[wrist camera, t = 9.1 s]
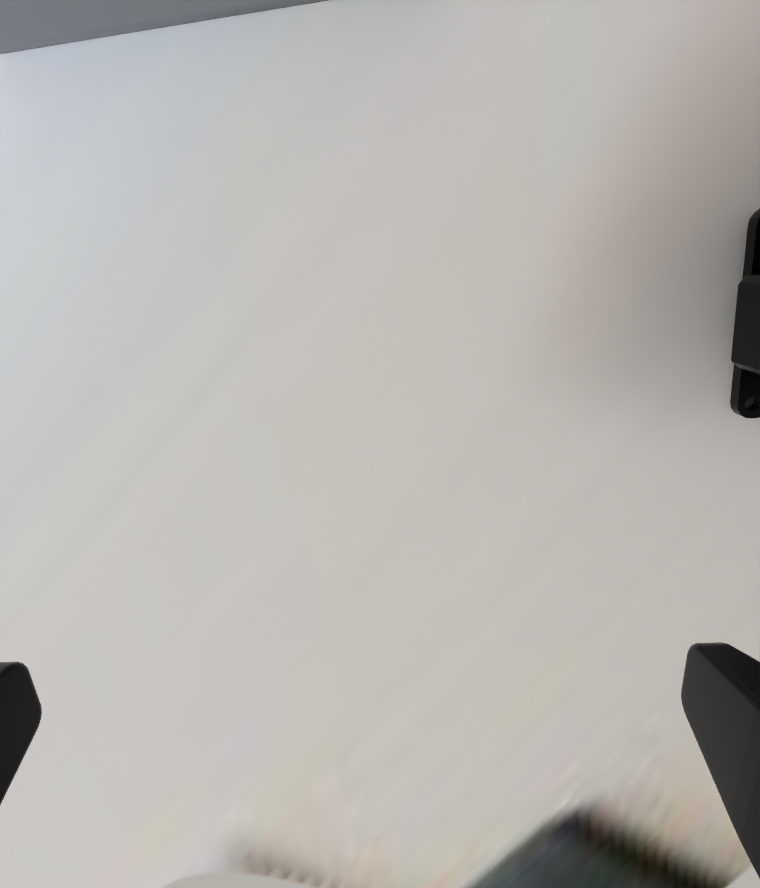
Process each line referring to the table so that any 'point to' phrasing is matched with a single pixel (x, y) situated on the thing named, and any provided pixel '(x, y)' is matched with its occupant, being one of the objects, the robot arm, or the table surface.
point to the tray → (109, 17)
